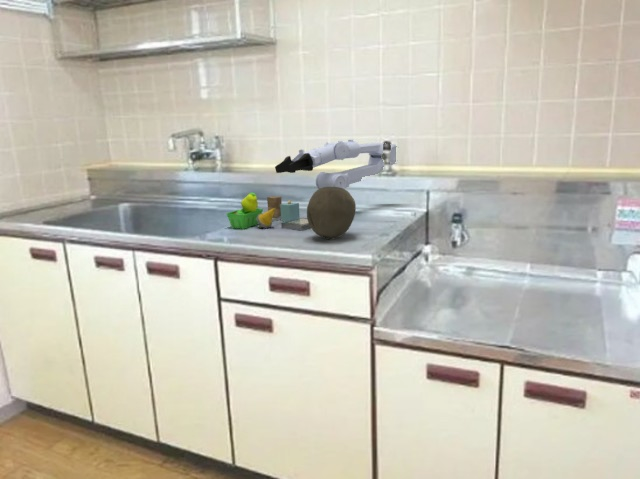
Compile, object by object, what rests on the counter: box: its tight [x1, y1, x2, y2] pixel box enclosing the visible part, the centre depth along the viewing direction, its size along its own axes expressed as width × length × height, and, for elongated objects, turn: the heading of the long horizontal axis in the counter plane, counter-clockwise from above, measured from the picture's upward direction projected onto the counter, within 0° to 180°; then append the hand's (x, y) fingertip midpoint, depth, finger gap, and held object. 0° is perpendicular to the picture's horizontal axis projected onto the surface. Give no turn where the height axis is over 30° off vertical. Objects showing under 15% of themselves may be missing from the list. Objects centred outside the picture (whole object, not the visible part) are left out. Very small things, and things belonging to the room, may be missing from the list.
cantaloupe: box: [306, 187, 357, 240], centre depth 155 cm, size 14×14×15 cm
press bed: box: [280, 217, 312, 231], centre depth 175 cm, size 10×9×2 cm
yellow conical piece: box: [256, 208, 275, 229], centre depth 174 cm, size 5×5×10 cm
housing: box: [280, 200, 301, 223], centre depth 184 cm, size 4×4×7 cm
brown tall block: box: [266, 195, 283, 217], centre depth 188 cm, size 3×4×7 cm
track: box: [272, 216, 281, 222], centre depth 188 cm, size 11×4×1 cm, turn 138°
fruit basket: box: [225, 192, 264, 230], centre depth 179 cm, size 11×9×11 cm
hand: (283, 168), depth 168 cm, fingers open, 7 cm apart
